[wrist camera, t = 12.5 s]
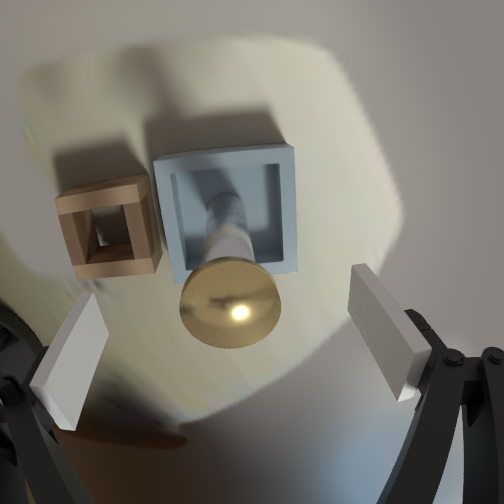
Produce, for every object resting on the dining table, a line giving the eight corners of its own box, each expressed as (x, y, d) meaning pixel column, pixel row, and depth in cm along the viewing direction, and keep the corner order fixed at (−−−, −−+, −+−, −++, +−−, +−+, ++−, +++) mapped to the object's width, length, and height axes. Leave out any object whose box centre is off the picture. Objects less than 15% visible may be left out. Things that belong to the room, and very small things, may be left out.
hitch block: (91, 260, 31) (77, 279, 27) (72, 186, 27) (54, 198, 24) (162, 253, 31) (154, 273, 27) (148, 173, 28) (136, 183, 24)
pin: (203, 236, 29) (190, 352, 16) (195, 186, 27) (170, 272, 14) (255, 231, 30) (282, 342, 16) (251, 180, 28) (279, 260, 14)
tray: (180, 265, 32) (175, 283, 29) (161, 155, 27) (153, 161, 24) (290, 254, 32) (297, 271, 29) (286, 142, 27) (293, 147, 24)
